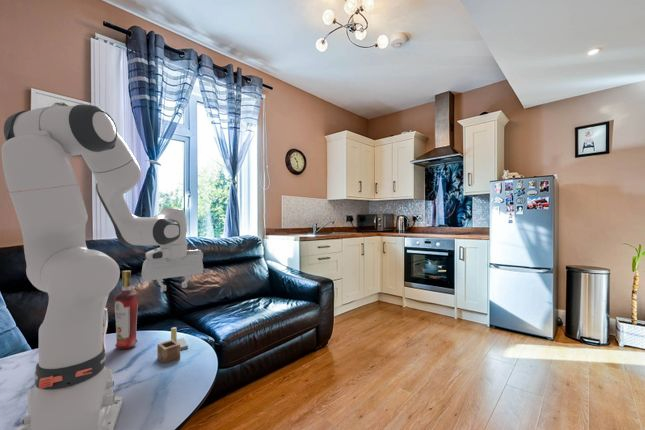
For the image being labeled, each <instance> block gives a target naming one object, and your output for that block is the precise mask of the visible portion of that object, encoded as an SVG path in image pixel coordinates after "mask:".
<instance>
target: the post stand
mask: <svg viewBox="0 0 645 430" xmlns="http://www.w3.org/2000/svg"><path fill="white" fill-rule="evenodd" d="M177 328H178V327H176V326H175V327H171V328H170V340H172V339H173V340H175V341H176V342H177V343H179V344H180V351H183V350H187V349H189V345H188V343H187V342H186V340H185V338H184V337H182V338H178V339H177V334H178V333H177V331H178V329H177Z"/></svg>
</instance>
